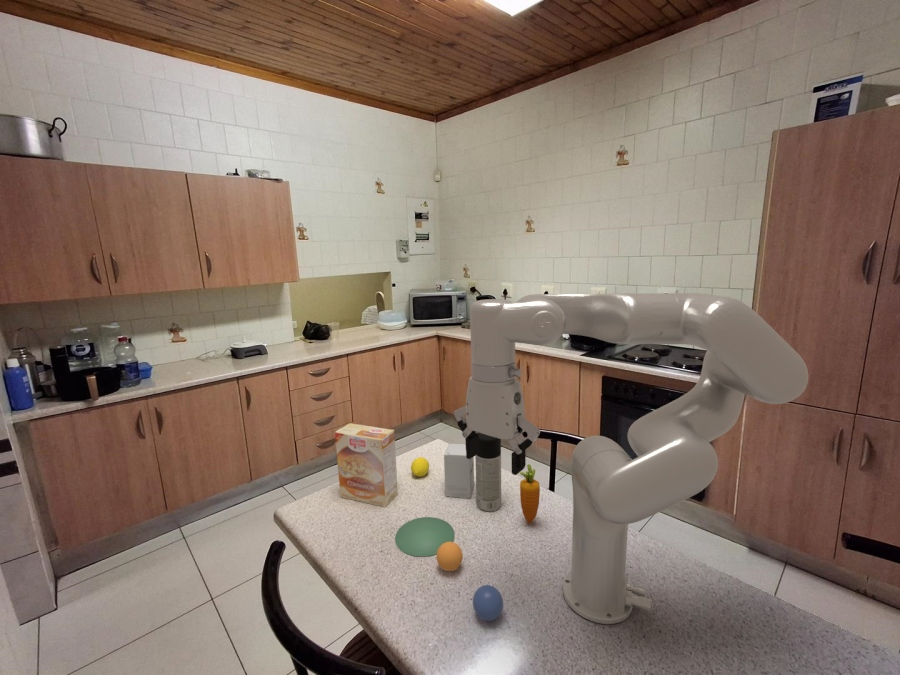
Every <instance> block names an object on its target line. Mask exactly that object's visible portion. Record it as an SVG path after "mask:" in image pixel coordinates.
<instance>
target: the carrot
mask: <svg viewBox="0 0 900 675" xmlns="http://www.w3.org/2000/svg"><path fill="white" fill-rule="evenodd" d="M526 467H527V471H525V472H523V471H520V472H519V474H520V475H521V476H523V477H524V479H522V480H520V483H519V489H520V490H519V491H520V505H521V510H522V515H523V516H524V520H525V521H526V522H527V524H528V525H531V524H532V523H533V522H534V520H535V519H536V517H537V514H538V510H539V506H540V492H541V491H540V490H541V489H540V482H539V481H538V480H536V479H534V478H535V475H536V469H535V468H532V465H531V464H526Z"/></svg>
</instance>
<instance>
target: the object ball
mask: <svg viewBox="0 0 900 675" xmlns="http://www.w3.org/2000/svg"><path fill="white" fill-rule="evenodd" d="M463 555H464V554H463V550H462V549H461V547H460V545H458V544H457V543H456V542H454V541H453V542H445V543H443V544H442V545H441V546H440V547H439V549H438V551H437V555H436V561H437V564H438V566H439V567H440V568H441V570H443V571H446V572H455V571H456V570H457V569H458V568H459V567H460V566H461V565H462V562H463V557H464V556H463Z"/></svg>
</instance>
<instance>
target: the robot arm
mask: <svg viewBox="0 0 900 675" xmlns="http://www.w3.org/2000/svg"><path fill="white" fill-rule="evenodd" d="M469 311H470V312H469V318H470V319H469V321H470V322H469V324H470V326H469V327H470V362H471V363H470V365H471V376H470V377H469V378H468V383H467V388H466V396H465V406H462V407H459V408H457V409H455V410H454V411H453V414H454V417H455V419H456V421H457V426H458V428H459V429H460V430H461V432H462V433H461V435H462V437H463V438H464V439H465V444H466V458H467V459H471V458H472V457H474V458H475V456H476V455H477V454H478V453H479V435H478V433H482V434H485V435H488V436H492V437H495V438H499V439H501V440H503V441H507V442H508V443H509V445H510V447H511V448H512V449H513V452H511V474H512V475H514V476H517V475H518V474H520V472H523V470H524V469H525V468H526V466H527V464H526V457H527V456H526V454H527V451H526V450H527V449H528V448H530V447H531V446H532V445H534V444H535V442H536V440H537V439H538V438H539V436H540V433H541V430H540V429H539V428H538V427H537V426H536V425H534V424H533V423H532V422H531V421H530V420H528V419H527V418H526V411H525V410H526V408H525V400H524V393H523V389H522V384H521V380H520V379H519V378H520V377H521V376H522V369H521V368H518V367H517V363H516V343H520V344H527V345H533V346H544V345H549V344H552V343H555V342H556V341H557V340H559V339H560V338H561V337H562V336H563V335H575V336H576V335H577V336H584V337H589V338H594V339H597V340H600V341H604V342H607V343H611V344H617V345H619V344H620V345H688V346H689V345H691V346H695V347H697V348H701V349H702V350H706V352H705V355H704V357H703V361H702V368H701V372H700V375H699V379H698V380H697V382H696V384H695V385H694V387H693V388H691V389H690V390H689V391H688V392H686V393H684V394H683V395H681V396H680V397H678V398H676V399H675V400H672V401H671V402H669V403H667V404H665V405H663V406H660V407H659V408H656V409H654V410H653V411H650V412H648V413H646V414H645V415H643V416H641V417H640V418H639V417H638V419H637V420H635V421H633V423H632V424H631V425H630V427H629V428H628V430H627V441H628V444H629V445H630V448H631V449H632V451H633V452H634V453H635V454H636V456H637V457H636V458H633V459H632V457H631V456H630V455H629V454H628V453H627V452H626V451H625V450H624V448H623V447H621V446H620V445H619V444H618V443H617V442H616V441H614V440H613V439H611V438H608V437H607V436H603V435H591V436H587V437H585V438H583V439H581V441H579V442H578V443H577V445H576V446H575V448H574V449H573V451H572V454H571V460H570V461H571V462H570V472H571V482H572V483H571V484H572V496H573V498H572V503H573V506H572V510H573V511H572V532H571V534H572V537H571V541H572V542H571V544H572V545H571V571H569V572H568V573H567V574H566V575H565V577H564V578H563V581H562V594H563V597H564V600H565V602H566V603H567V605H568V606H569V607H570V608H571V609H572V610H573V611H574V612H575V613H576V614H578V615H579V616H581V617H582V618H584V619H586V620H588V621H591V622H593V623H597V624H604V625H611V624H612V625H613V624H618V623H622V622H623V621H625V620H626V619H627V618H629V616H630V615H631V614H632V611H633V608H634V607H637V608H639V609H640V610H644V611H647V612H652V599H651V598H647V597H645V588H643V587H639V586H635V585H632V583H631V582H629V580H628V578H629V574H627V573H626V571H627V570H626V569H627V568H626V567H627V552H628V550H627V549H628V534H629V533H628V532H629V525H630V524H634V523H637V522H640V521H643V520H645V519H649V517H652V516H654V515H656V514H659V513H660V512H663V511H665V510H667V509H669V508H671V507H673V506H674V505H677V504H679V503H681V502H683V501H686V500H687V499H689V498H691V497H693V496H696V495H697V494H699V493H700V492H702V491H703V490H705V489H706V488H707V487H708V486H709V485H710V483H711V482H712V481H713V480H714V478H715V477H716V474H717V471H718V468H719V459H718V455H717V452H716V450H715V447H714V446H713V445H712V444H711V443H710V442H712V441H714V440H716V439H717V438H720V437H721V436H722V435H725V434H726V433H727V432H729V430H731V429H732V428H733V427H734V426H735V424H736V423H737V422H738V419H739V416H740V415H741V411H742V407H743V405H744V400H745V395H746V396H747V397H750V398H752V399H754V400H757V401H759V402H761V403H766V404H771V405H780V404H781V405H783V404H786V403H789V402H792V401H793V400H796V399H797V398H798V397H800V396H801V395H802V394H803V393H804V392H805V390H806V388H807V386H808V383H809V371H808V367H807V364H806V362H805V361H804V359H803V358H802V357H801V355H800V354H799V353H798V352H797V350H795V349H794V348H793V347H792V346H791V345H790V344H789V343H788V342H787V341H786V340H785V339H784V338H783V337H782V336H781V335H780V334H779V333H778V332H777V331H776V330H774V328H773V327H772V326H770V324H768V323H767V321H766V320H765V319H764V318H763V317H761V316H760V315H759V314H758V313H757V312H756V311H755V310H754V309H752V308H751V307H750V306H749V305H747V304H746V303H744V302H742V301H741V300H739V299H737V298H733V297H729V296H728V297H727V296H722V295H721V296H720V295H714V294H707V293H698V292H697V293H695V292H693V293H692V292H691V293H689V292H687V293H685V292H683V293H680V292H679V293H678V292H677V293H676V292H675V293H672V292H671V293H669V292H668V293H661V292H660V293H658V292H657V293H630V292H629V293H596V294H594V293H593V294H592V293H591V294H588V293H586V294H585V293H584V294H582V293H579V294H578V293H576V294H575V293H570V294H569V293H558V294H557V293H547V294H546V293H538V294H537V293H536V294H532V293H531V294H527V295H525V296H522V297H520V298H519V299H518V300H517V301H516V302H512V301H510V300H509V299H502V298H501V299H499V298H492V299H491V298H489V299H480V300H476V301H474V302H472V304H471V305H470V310H469ZM517 378H518V379H517ZM524 432H525V433H526V434H527V436H526V438H525V436H524V435H523V434H524ZM522 433H523V434H522Z"/></svg>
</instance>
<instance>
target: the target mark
mask: <svg viewBox="0 0 900 675" xmlns="http://www.w3.org/2000/svg"><path fill="white" fill-rule="evenodd" d="M455 534H456V533H455V530H454V528H453V526H452V525H451V524H450V523H449V522H447V521H446V520H444V519H443V518H442V519H441V518H438V517H433V516H432V517H431V516H424V517H417V518H414V519H411V520H409V521H406V523H404V524H402V525H401V526H400V527H399V528H398V530H397V531H396V533H395V537H394V538H395V540H394V541H395V544H396V547H397V548H398V549H399V550H400V551H401V552H402V553H404V554H406V555H408V556H411V557H418V558H419V557H420V558H427V557H433V556H437V551H438V549H439V547H440V546H441V545H442V544H443V543H445V542H454V540H455Z"/></svg>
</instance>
